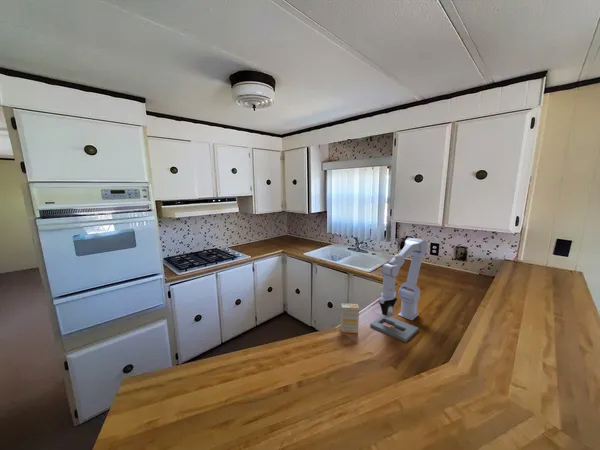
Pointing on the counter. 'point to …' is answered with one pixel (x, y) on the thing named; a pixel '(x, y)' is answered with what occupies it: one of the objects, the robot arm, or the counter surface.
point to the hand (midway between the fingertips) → (387, 312)
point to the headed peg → (389, 312)
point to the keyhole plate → (403, 336)
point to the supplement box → (349, 318)
